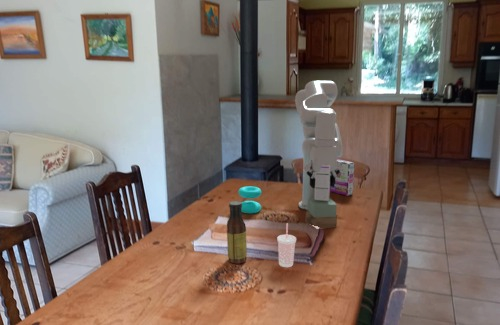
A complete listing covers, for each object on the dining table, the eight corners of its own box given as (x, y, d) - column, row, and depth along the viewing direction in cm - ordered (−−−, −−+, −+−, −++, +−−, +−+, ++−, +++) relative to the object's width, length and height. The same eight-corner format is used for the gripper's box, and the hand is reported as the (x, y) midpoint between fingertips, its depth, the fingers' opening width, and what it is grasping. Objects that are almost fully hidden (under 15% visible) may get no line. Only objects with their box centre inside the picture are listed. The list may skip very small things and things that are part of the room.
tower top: (307, 209, 180) (308, 198, 179) (328, 209, 181) (329, 197, 180) (313, 217, 171) (314, 205, 170) (336, 216, 173) (336, 204, 172)
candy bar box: (353, 194, 218) (355, 162, 214) (347, 196, 214) (349, 163, 210) (334, 189, 226) (336, 158, 222) (328, 191, 222) (330, 159, 218)
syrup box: (328, 201, 172) (331, 165, 169) (313, 199, 173) (315, 164, 170) (329, 196, 177) (331, 161, 174) (314, 195, 178) (316, 160, 175)
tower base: (305, 222, 180) (305, 210, 179) (324, 219, 183) (324, 208, 182) (317, 230, 172) (317, 218, 171) (336, 227, 175) (337, 215, 174)
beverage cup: (283, 269, 138) (285, 228, 135) (272, 262, 143) (273, 222, 140) (299, 265, 141) (300, 224, 138) (287, 258, 146) (289, 218, 143)
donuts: (237, 191, 186) (239, 185, 196) (237, 213, 188) (239, 206, 198) (260, 192, 185) (262, 185, 195) (260, 214, 187) (261, 207, 197)
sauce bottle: (249, 257, 146) (250, 201, 142) (242, 266, 141) (243, 207, 136) (231, 255, 148) (231, 198, 144) (224, 262, 143) (223, 204, 138)
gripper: (340, 140, 176) (338, 182, 180) (299, 142, 172) (298, 185, 176) (349, 144, 169) (346, 188, 173) (306, 145, 164) (304, 190, 169)
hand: (322, 186), depth 174 cm, fingers closed on syrup box, 7 cm apart
